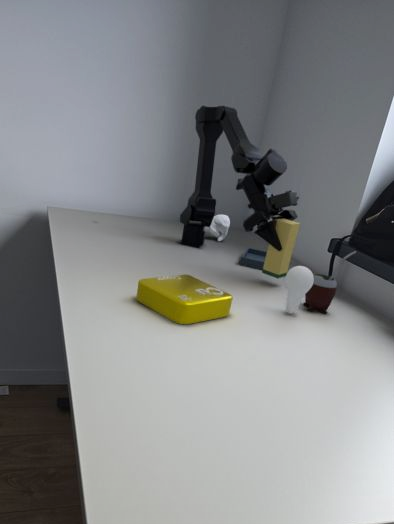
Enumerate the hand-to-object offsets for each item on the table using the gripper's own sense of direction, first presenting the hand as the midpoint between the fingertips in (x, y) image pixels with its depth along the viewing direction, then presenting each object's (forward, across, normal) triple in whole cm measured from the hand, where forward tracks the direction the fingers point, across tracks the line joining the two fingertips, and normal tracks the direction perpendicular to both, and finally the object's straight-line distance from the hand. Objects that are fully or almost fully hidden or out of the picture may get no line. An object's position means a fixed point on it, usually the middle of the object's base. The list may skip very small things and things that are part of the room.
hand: (285, 249), depth 126 cm
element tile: (+6, -38, +8) cm, 39 cm away
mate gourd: (+18, -7, -4) cm, 19 cm away
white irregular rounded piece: (-22, +26, +36) cm, 49 cm away
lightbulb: (+16, -16, -2) cm, 23 cm away
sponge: (+4, 0, +6) cm, 7 cm away
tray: (-3, +17, +17) cm, 24 cm away
